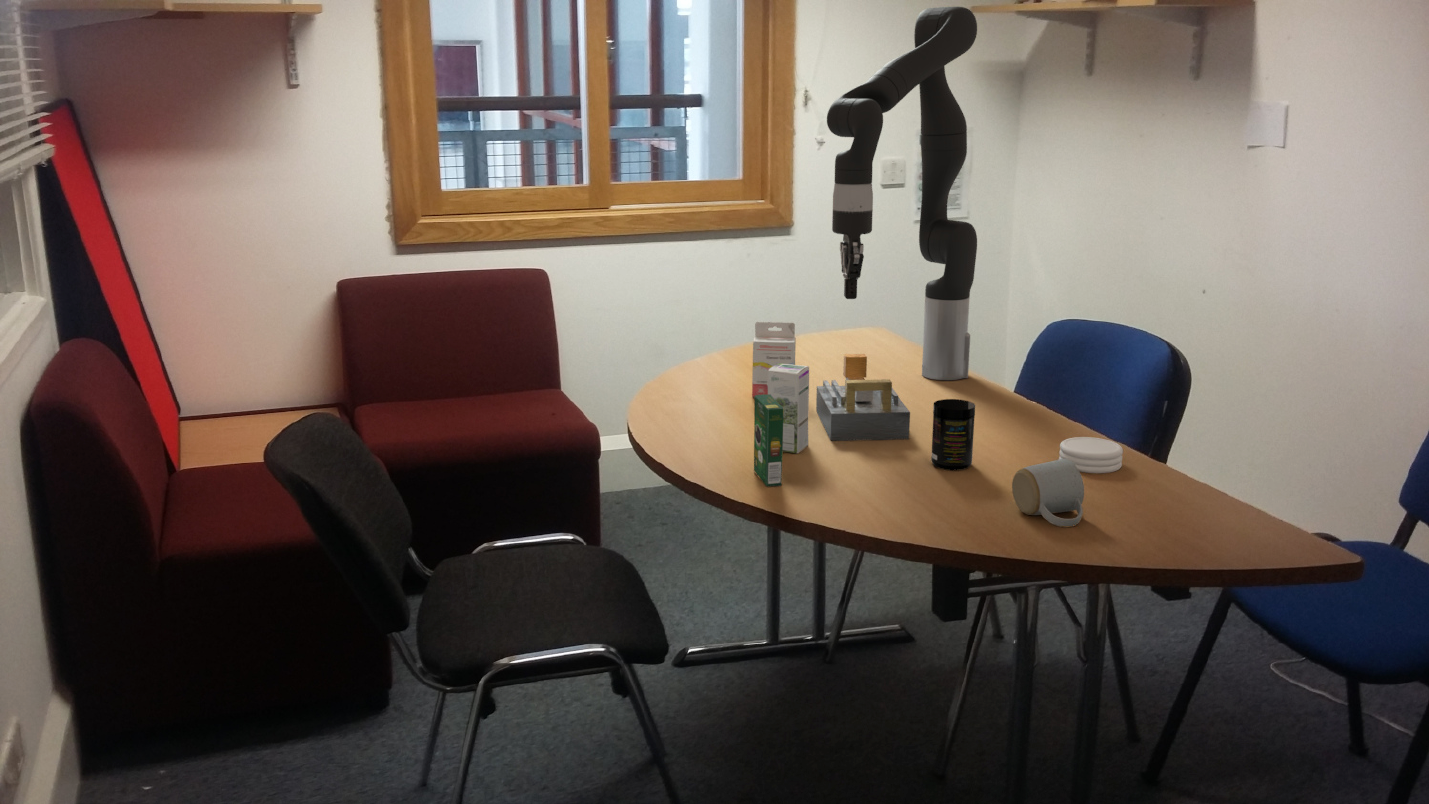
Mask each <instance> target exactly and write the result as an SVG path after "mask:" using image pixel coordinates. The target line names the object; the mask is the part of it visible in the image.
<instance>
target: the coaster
mask: <svg viewBox="0 0 1429 804" xmlns="http://www.w3.org/2000/svg"><path fill="white" fill-rule="evenodd" d="M1059 449H1060V450H1059V453H1058V454H1059V457H1058V460H1059V459H1068V460H1070V461H1072V462H1073V463H1074V464H1075V465H1076V467H1077V468H1078V470H1079V472H1080V473H1088V474H1108V473H1114V472H1116V471H1118V470H1120V469H1121V467H1122V466H1123V464H1122V463H1123V462H1122V461H1123V457H1124V456H1123V453H1124V449H1123V447H1122V446H1121V445H1120V444H1119V443H1117V442H1116V441H1114V440H1109V439H1105V438H1101V437H1100V438H1099V437H1093V436H1076V437H1070V438H1066V439H1064V440H1062V441H1061V442H1060V444H1059Z"/></svg>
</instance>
